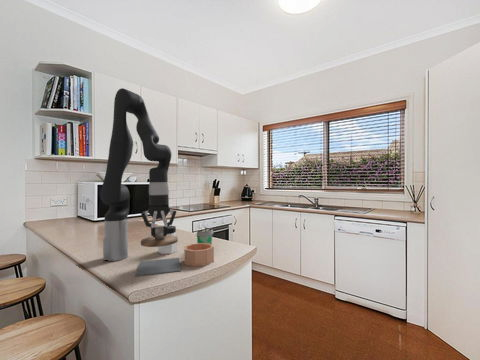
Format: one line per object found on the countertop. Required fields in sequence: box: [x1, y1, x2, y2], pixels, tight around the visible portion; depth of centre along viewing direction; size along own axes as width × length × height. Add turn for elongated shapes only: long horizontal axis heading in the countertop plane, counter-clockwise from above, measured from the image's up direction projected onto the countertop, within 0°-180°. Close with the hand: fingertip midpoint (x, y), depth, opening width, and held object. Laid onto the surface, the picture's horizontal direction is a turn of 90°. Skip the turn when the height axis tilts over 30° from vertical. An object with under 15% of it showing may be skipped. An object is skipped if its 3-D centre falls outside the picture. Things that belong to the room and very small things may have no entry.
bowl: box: [183, 243, 215, 267], centre depth 103 cm, size 12×12×6 cm
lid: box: [140, 225, 179, 248], centre depth 96 cm, size 14×14×6 cm
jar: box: [157, 225, 178, 255], centre depth 117 cm, size 9×8×12 cm
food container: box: [196, 227, 214, 245], centre depth 120 cm, size 12×6×10 cm, turn 168°
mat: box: [134, 257, 182, 277], centre depth 96 cm, size 16×16×1 cm
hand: (159, 236), depth 97 cm, fingers closed on lid, 3 cm apart
